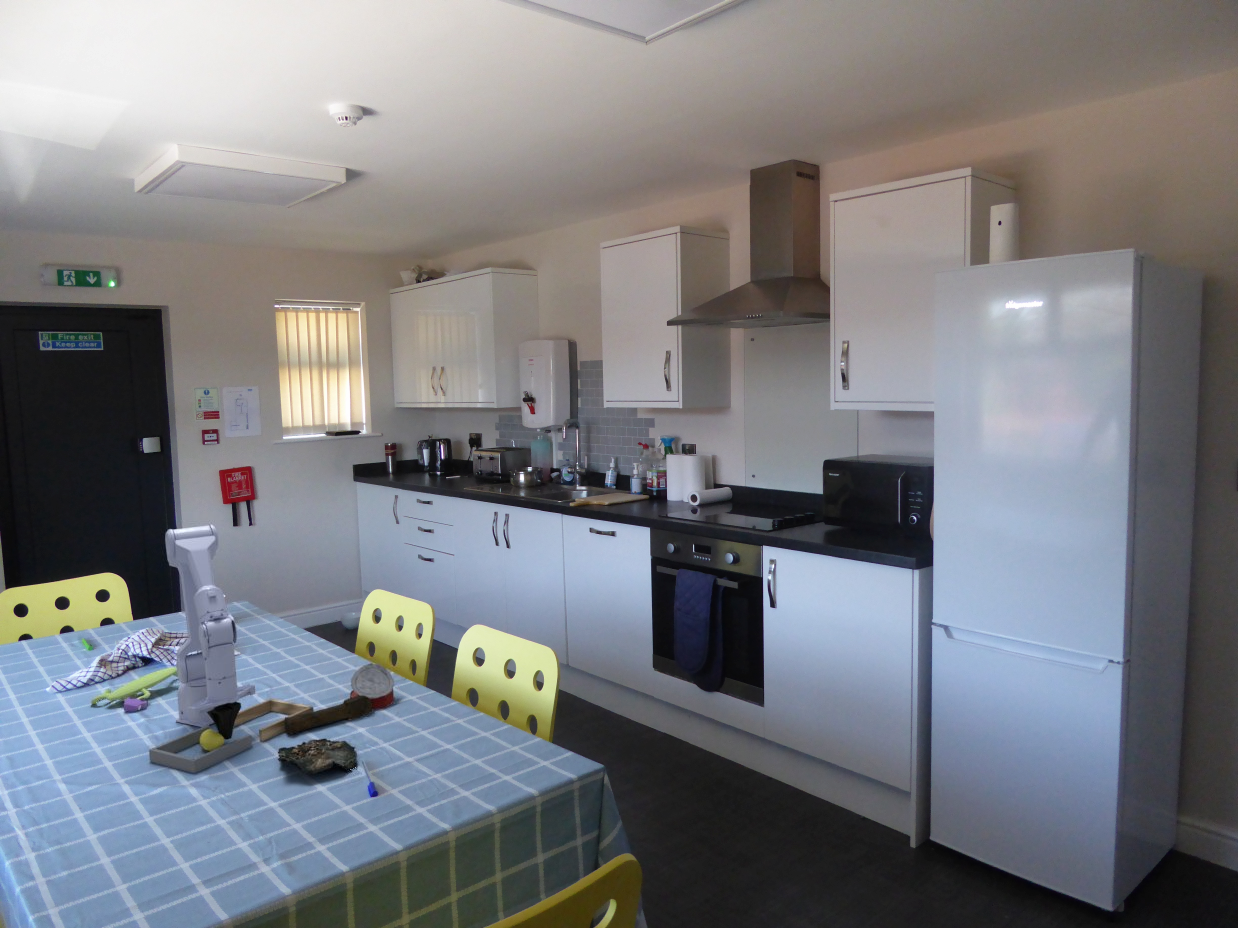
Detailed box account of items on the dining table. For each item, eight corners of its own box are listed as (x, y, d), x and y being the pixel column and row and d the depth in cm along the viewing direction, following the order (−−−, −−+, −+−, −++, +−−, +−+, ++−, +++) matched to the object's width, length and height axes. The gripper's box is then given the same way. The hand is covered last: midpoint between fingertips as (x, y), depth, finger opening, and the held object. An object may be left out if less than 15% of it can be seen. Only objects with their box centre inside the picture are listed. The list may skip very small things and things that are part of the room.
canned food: (391, 714, 199) (409, 678, 199) (375, 727, 189) (394, 688, 189) (351, 692, 200) (369, 656, 200) (332, 704, 190) (351, 665, 190)
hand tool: (288, 738, 176) (286, 717, 175) (284, 732, 179) (282, 712, 179) (376, 716, 187) (375, 696, 186) (370, 711, 190) (369, 691, 189)
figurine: (229, 689, 209) (227, 667, 208) (109, 721, 189) (107, 698, 189) (201, 673, 221) (199, 653, 221) (86, 702, 202) (84, 680, 202)
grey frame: (149, 761, 166) (148, 749, 166) (208, 736, 178) (207, 725, 178) (194, 773, 160) (193, 760, 160) (252, 746, 172) (251, 734, 172)
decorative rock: (261, 739, 166) (334, 713, 175) (266, 768, 167) (339, 741, 176) (290, 764, 151) (368, 734, 160) (295, 796, 152) (373, 765, 161)
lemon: (218, 740, 176) (216, 722, 175) (228, 751, 170) (226, 733, 169) (196, 745, 173) (195, 728, 173) (206, 758, 167) (204, 739, 167)
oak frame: (218, 731, 180) (217, 720, 180) (271, 708, 193) (270, 698, 192) (262, 741, 174) (261, 729, 174) (313, 717, 187) (313, 706, 186)
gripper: (203, 689, 165) (208, 755, 166) (263, 666, 178) (267, 727, 179) (179, 684, 168) (185, 749, 169) (240, 663, 181) (245, 723, 182)
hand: (226, 738), depth 174 cm, fingers closed
